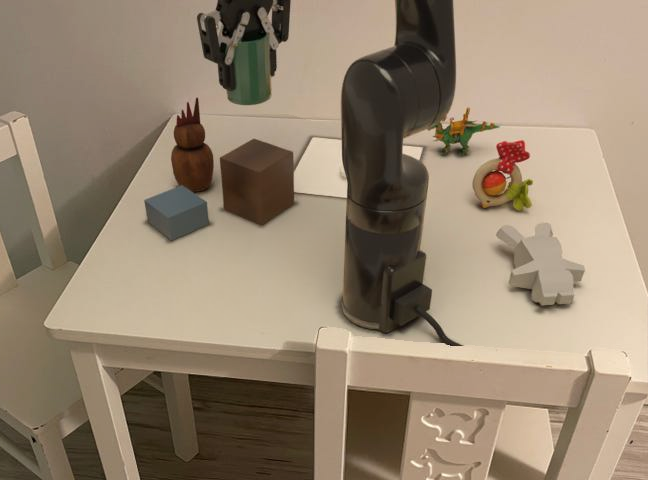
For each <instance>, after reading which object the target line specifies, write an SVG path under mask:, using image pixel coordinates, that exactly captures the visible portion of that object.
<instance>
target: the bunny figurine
mask: <svg viewBox="0 0 648 480" xmlns="http://www.w3.org/2000/svg"><path fill="white" fill-rule="evenodd" d="M553 235H554V233H553V228H552V224H550V223H548V222H544V221H543V222H539V223H537V224H536V225H535V226H534V235H532V236H529V237H526V238H525V237H524V236H523V235H522V234H521V233H520V232H519V231H518V230H517V229H516V228H515V227H514V226H512V225H509V224H504V225H501V226H500V228H499V229H498V230H497V232H496V233H495V236H496V238H497V239H498V240H500V241H502V242H503V243H504V244H505V245H507V246H509V247H511V248H512V249H513V264H514V269H512V270H510V271H511V272H510V275H509V279H508V285H509V286H510V287H515V288H522V289H528V290H531V294H530V297H531V300H532V301H533V302H534V303H539V304H540V306H553V305H555V303H556V304H558V305H568V304H569V305H570V304H572V302H573V300H574V297H575V296H576V294H575V292H574V284H576V283H578V282H582V280H583V277H584V274H585V272H586V268H585V265H584V264H581V263H577V262H574V261H572V260H571V261H570V260H568V259H565V258H563V248H562V244H561V242H560V240H559V239H558V237H556V236H553Z"/></svg>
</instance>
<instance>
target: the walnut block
mask: <svg viewBox="0 0 648 480" xmlns="http://www.w3.org/2000/svg"><path fill="white" fill-rule="evenodd" d="M294 164H295V163H294V151H292V150H289V149H287V148H283V147H280V146H277V145H275V144H271V143H269V142H266V141H263V140H260V139H256V138H252V139H250V140H249V141H247V142H245V143H243V144H241V145H239V146H238V147H235V149H232V150H231V151H229V152H227V153H225V154H224V155H222V156H220V157H219V167H220V179H221V190H222V200H223V201H222V202H223V210H224V211H227V212H228V213H231V214H234V215H236V216H239V217H241V218H243V219H246V220H248V221H250V222H253V223H256V224H258V225H260V226H264V225H265V224H267V223H268V222H269V221H271V220H273V219H274V218H275V217H277V216H278V215H280V214H281V213H283V212H284V211H286V210H287V209H289V208H291V207H292V206H293V205H295V192H294V171H295V169H294V168H295V167H294V166H295V165H294Z"/></svg>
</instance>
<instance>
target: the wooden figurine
mask: <svg viewBox="0 0 648 480" xmlns="http://www.w3.org/2000/svg"><path fill="white" fill-rule="evenodd" d="M180 111H181V113H180V114H181V115H179V114H177V115H176V124H175V125H174V129H173V140H174V141H175V144H176V145H174V147H173V148H172V149H171V155H170V161H171V167H172V173H173V177H174V179H175V181H176V183H177V184H178V186H181V185H183V186H184V187H186V188H187V189H189V190H190V191H192V192H193V193H194V192H201V191H204V190H206V189H208V188H209V187H210V186H211V182H212V180H213V175H214V167H215V165H214V153H213V151H212V148H211V146H209V145H208V144H207V143H206V142H205V140H206V131H205V127H204V126H203V124H202V123H201V114H200V113H201V112H200V101H199V97H195V102H194V107H193V113H192V108H191V106H190V103H189V101H186V114H185V111H184V109H181V110H180ZM180 116H181V117H180Z"/></svg>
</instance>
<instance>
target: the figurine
mask: <svg viewBox="0 0 648 480" xmlns="http://www.w3.org/2000/svg"><path fill="white" fill-rule="evenodd" d="M470 111H471V108H470V107H469V106H468V107H466V110H465V113H463V115H462V117H463V118H462V120H461V119H460V120H455V118H454V117H450V118H449V122H450V123H449V125H448V126H446V128H443V123H442V122H446V120H447V118H448V115H447V116H446V117H445V118H444V119H443V120H442V121H441V122H439V123H438V124H436V125H435V126H433V127H431V128H428V129H426V130H427V132H428V131H429V132H430V131H431V130H434V129H435V133H434V135H432V137H433V138H435V139H433V140H432V141H433V142H438V141H440V142H443V144H444V145H445V146H444V148H441V149H440V152H441V155H442V156H443V157H444V156H446V155H447V153H449V151H450V150H451V147H452V146H451V145H456V144H460V146H461V147H462V148H457V151H458V155H459V157H463V156H466V155H467V154H468V153H467V151H468V150H469V148H470V145H468V144H469V142H470V140H471V139H472V136H473V135H474V134H476V133H483V132H485V131H491V130H495V129H498V128H500V127H501V125H495V122H491V123H490V125H489V124H488V122H487V121H486V120H484V121H482V124H481V123H476V122H477V121H478V119H475V120H469V115H470Z"/></svg>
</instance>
